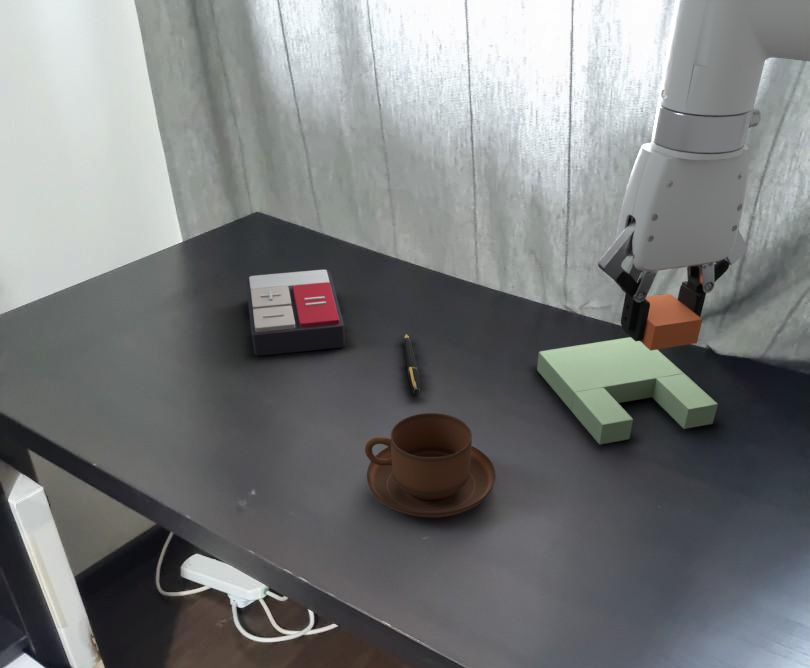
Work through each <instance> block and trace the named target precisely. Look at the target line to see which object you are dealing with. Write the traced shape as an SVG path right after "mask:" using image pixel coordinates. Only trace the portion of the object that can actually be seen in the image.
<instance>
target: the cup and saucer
mask: <svg viewBox="0 0 810 668" xmlns="http://www.w3.org/2000/svg"><path fill="white" fill-rule="evenodd" d="M472 442H473V433H472V430H471V428H470V426H469V425H468V424H467V423H466V422H464V421H463V420H461V419H460V418H457V417H455V416H452V415H450V414H445V413H437V412H426V413H425V412H424V413H418V414H413V415H410V416H408V417H405V418H403V419H402V420H400V421H398V422H397V423H396V424H395V425H394V426H393V427H392V429H391V431H390V438H388V437H383V436H376V437H372V438H371V439H369V440H367V442H366V444H365V447H364V452H365V456H366V457H367V459H368V460H369V461H370V462H369V464H368V466H367V471H366V481H367V484H368V487H369V490H370V491H371V493H372V495H373V496H374V497H375V498H376V499H377V500H378V501H379V502H380V503H382V504H383V505H385V506H386V507H388V508H390V509H392V510H394V511H396V512H398V513H401V514H404V515H407V516H411V517H417V518H425V519H427V518H429V519H433V518H434V519H437V518H445V517H451V516H456V515H459V514H461V513H465V512H466V511H469V510H471V509H473V508H475V507H477V506H478V505H479V504H481V503H483V501H485V499H486V498H487V497H489V495H490V493H491V492H492V490H493V487H494V485H495V482H496V469H495V465H494V464H493V462H492V461H491V459H490V458H489V457H488V456H487V455H486V454H485V453H484V452H483V451H481V450H480V449H478V448H477V447H475V446H473V445H472V444H473V443H472ZM376 445H383V446H386V447H385V448H384V449H382V450H381V451H379V452H378V453H377V454H376V455H375V454H374V451H373V448H374V447H375V446H376Z"/></svg>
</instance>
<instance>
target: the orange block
mask: <svg viewBox="0 0 810 668" xmlns="http://www.w3.org/2000/svg"><path fill="white" fill-rule="evenodd" d="M645 299H646V300H647V301H649V302H650V309H649V314H648V319H647V321H646V327H645V332H644V337H643V339H642V340H641V341H640V342H641V343H642V344H644V345H645V346H646V347H647V348H648V349H649V350H650V351H651V350H662V349H669V348H675V347H683V346H689V345H694V344H695V345H696V344H698V339H699V337H700V332H701V327H702V323H703V318H702V317H699V316H698V315H696V314H695V313H694V312H693V311H691V310H690V309H689V308H687V307H686V306H685V305H684V304H682V303H681V302H680V301H679V300H678V298H676V297H675V296H674V295H673V294H671V293H664V294H657V295H650V296H646V298H645Z"/></svg>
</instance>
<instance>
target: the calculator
mask: <svg viewBox="0 0 810 668" xmlns="http://www.w3.org/2000/svg"><path fill="white" fill-rule="evenodd" d="M245 284H246V293H247V303H248V305H247V306H248V314H249V324H250V333H251V339H252V340H251V341H252V346H253V353H254V355H255V356H256V357H261V356H271V355H280V354H290V353H300V352H301V353H303V352H311V351H321V350H329V349H330V350H331V349H341V348H344V347H345V346H346V333H345V323H344V319H343V316H342V312H341V307H340V304H339V300H338V297H337V293H336V288H335V286H334V281H333V278H332V275H331V272H330V270H327V269H314V270H313V269H312V270H304V271H303V270H302V271H292V272H291V271H290V272H280V273H279V272H278V273H268V274H259V275H250V276H249V277H247V278H246V279H245Z"/></svg>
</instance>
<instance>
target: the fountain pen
mask: <svg viewBox="0 0 810 668" xmlns="http://www.w3.org/2000/svg"><path fill="white" fill-rule="evenodd" d="M403 338H404V340H403V343H404V350H405V360H406V366H407V375H408V381H409V384H410V388H411V390H412V393H413V394H414V395H419V394H420V392H421V380H420V373H419V368H418V366H417V361H416V360H417V359H416V356H415V352H414V348H413V345H412V344H413V343H412V341H411V338H410V336H409V335H408V334H407V333H406V334H405V335H404V337H403Z"/></svg>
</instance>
